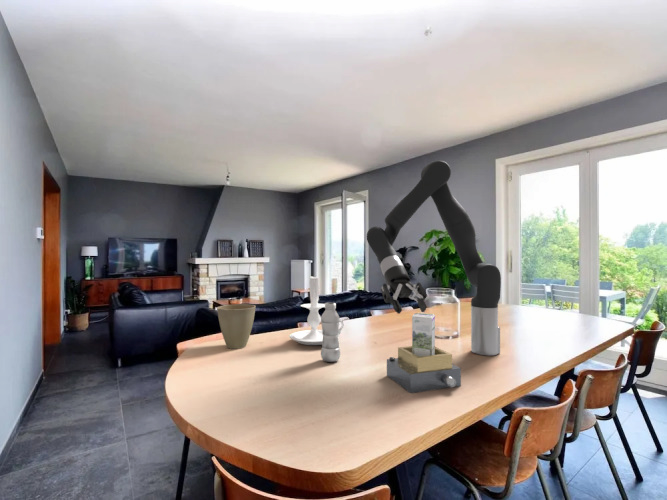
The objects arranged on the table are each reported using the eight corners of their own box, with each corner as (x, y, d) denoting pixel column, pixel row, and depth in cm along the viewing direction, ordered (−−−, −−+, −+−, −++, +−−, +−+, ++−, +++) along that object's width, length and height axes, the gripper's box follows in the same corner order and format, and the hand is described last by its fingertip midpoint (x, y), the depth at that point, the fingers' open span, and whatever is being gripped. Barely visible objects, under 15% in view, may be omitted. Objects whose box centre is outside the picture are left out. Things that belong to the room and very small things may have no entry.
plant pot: (263, 344, 143) (263, 305, 143) (235, 353, 131) (235, 310, 131) (237, 339, 151) (237, 302, 151) (208, 347, 139) (208, 307, 139)
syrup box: (435, 362, 104) (435, 313, 104) (432, 368, 98) (432, 316, 98) (416, 360, 106) (415, 312, 106) (411, 365, 101) (411, 315, 101)
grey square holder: (432, 370, 112) (432, 341, 112) (468, 390, 96) (467, 356, 96) (386, 375, 107) (386, 346, 107) (416, 397, 91) (416, 362, 91)
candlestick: (356, 344, 144) (356, 275, 144) (301, 352, 132) (301, 278, 132) (333, 333, 162) (332, 273, 162) (282, 340, 150) (282, 274, 150)
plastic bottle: (338, 364, 118) (338, 304, 118) (318, 363, 119) (318, 304, 119) (341, 358, 124) (341, 302, 124) (323, 357, 125) (323, 301, 125)
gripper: (378, 265, 115) (395, 305, 104) (416, 264, 119) (437, 302, 108) (371, 280, 120) (387, 319, 109) (408, 278, 124) (427, 317, 113)
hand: (412, 311), depth 108 cm, fingers open, 8 cm apart
